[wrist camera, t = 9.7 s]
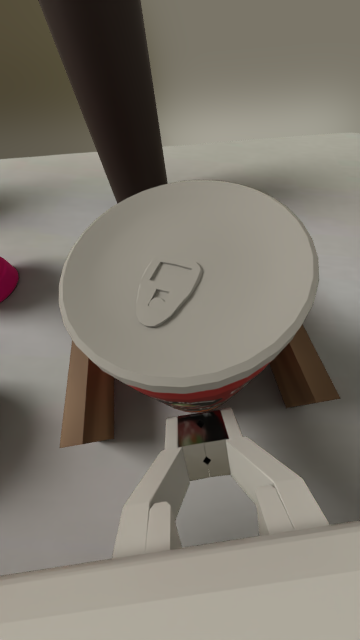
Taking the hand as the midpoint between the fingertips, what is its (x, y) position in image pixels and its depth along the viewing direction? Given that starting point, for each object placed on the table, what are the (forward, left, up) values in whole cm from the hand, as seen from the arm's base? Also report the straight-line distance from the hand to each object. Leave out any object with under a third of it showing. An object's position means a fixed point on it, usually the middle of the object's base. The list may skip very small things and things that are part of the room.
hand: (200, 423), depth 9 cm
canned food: (0, +5, -5) cm, 7 cm away
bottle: (-2, +27, -5) cm, 27 cm away
